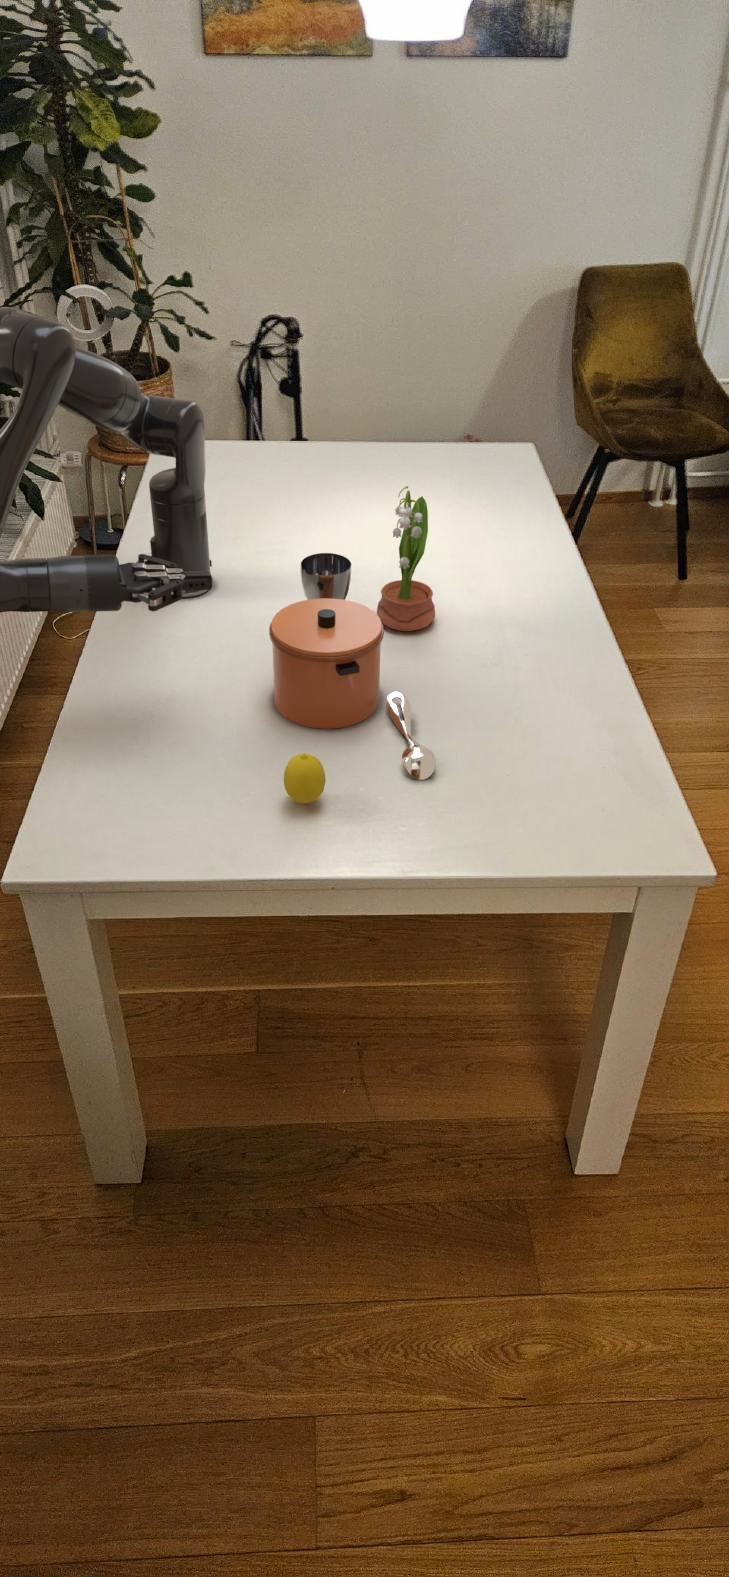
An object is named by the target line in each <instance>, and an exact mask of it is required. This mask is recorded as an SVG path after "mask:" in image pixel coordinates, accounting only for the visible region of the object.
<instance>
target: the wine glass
mask: <svg viewBox="0 0 729 1577" xmlns="http://www.w3.org/2000/svg"><path fill="white" fill-rule="evenodd" d="M300 580H301V585H302V590H303V594H304V596H305V598H306V600H310V599H320V598H332V599H342V600H347V596H348V594H349V591H350V588H351V587H350V586H351V580H352V562H351V560H350V559H349V558H348V557H346V556H343V555H341V554H337V553H331V552H319V553H314V554H310V555H308V556H306V557H304V558H303V559H302V560H301V562H300Z"/></svg>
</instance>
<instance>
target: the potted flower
mask: <svg viewBox="0 0 729 1577" xmlns="http://www.w3.org/2000/svg"><path fill="white" fill-rule="evenodd" d="M408 488H409V485H407V486H404V487H403V488H402V489H401V490H400V491H399V494H398V497H400V495H401V494H402V492H403V491H404V490H406V489H408ZM412 503H414V504H413V507H412ZM402 504H403V506H401V505H402ZM394 512H395V514H394V515H395V516H398V517H399V518H398V521H397V523H396V527H395V528H394V529H393V530H392V534H393V535H392V538H396V539H399V537H400V542H399V546H398V556H399V561H398V563H399V566H398V568H400V572H401V579H398V580H394V581H390V582H388V583H386V584H385V585H383V587H382V588H381V590H380V595H381V598H380V599H379V601H378V603H377V608H376V614H377V615H378V617H379V618H380V620H381V622H382V625H383V626H386V627H388V628H390V629H393V630H395V631H401V632H412V631H419V630H422V629H424V628H426V627H428V626H429V625H430V624H431V623H432V621H433V620H435V617H436V608H435V607H436V606H435V604H434V602H433V599H432V598H433V595H434V592H433V589H432V588H431V587H430V586H429V585H428V584H426V583H424V582H421V581H417V580H412V578H413V576H414V573H415V570H416V568H417V567H418V565H419V563H420V561H421V559H422V558H423V556H424V554H425V550H426V545H427V540H428V539H427V538H428V532H429V511H428V504H427V501H426V499H425V498H424V496H423V495H422V496H420V497H418V498H417V499H412V498H411V491H410V490H407V491H406V493H405V496H404V497H403V498H401V499H400V501H399V504H398V506H396V508H395V509H394ZM401 529H403V530H401ZM401 533H402V534H401Z"/></svg>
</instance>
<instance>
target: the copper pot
mask: <svg viewBox="0 0 729 1577" xmlns="http://www.w3.org/2000/svg"><path fill="white" fill-rule="evenodd" d="M268 633H269V640H270V641H271V643H272V668H273V669H272V670H273V671H272V672H273V694H274V696H273V698H274V706H275V708H276V710H277V711H278V712H279V714H280V715H282V716H283V717H284V718H285V719H287V720H289V721H291V722H292V723H294V724H296V725H299V726H304V727H306V728H312V729H323V730H325V729H327V730H329V729H330V730H332V729H340V728H346V727H350V726H353V725H357V724H359V723H361V722H364V721H365V720H367V719H368V718H370V717H371V716H372V715H373V714H374V713H375V712H376V710H377V708H378V706H379V701H380V674H381V648H382V647H381V645H382V644H381V643H382V642H383V639H384V636H385V635H384V634H385V629H384V624H383V623H382V622H381V620H380V618H379V617H378V615H377V612H375V611H374V610H372V609H371V608H370V607H368V606H366V605H364V604H361V603H358V602H355V601H351V600H347V599H345V600H342V599H332V598H320V599H310V600H307V599H305V600H300V601H296V602H293V603H291V604H289V605H287V606H284V607H283V608H281V609H280V610H279V611H277V612H276V614H275V615H274V616H273V618H272V620H271V622H270V624H269V628H268Z"/></svg>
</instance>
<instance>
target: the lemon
mask: <svg viewBox="0 0 729 1577" xmlns="http://www.w3.org/2000/svg"><path fill="white" fill-rule="evenodd" d="M283 785H284V789H285V791H286V794H287V795H288V797H289V798H290V799H291V800H293V802H296V803H298V804H303V805H306V804H311V803H314V802H315V801H317V800H318V799H319V798H320V797H321V796H322V794H323V793H324V790H325V787H326V773H325V769H324V766H323V764H322V762H321V760H320V759H319V758H318V757H316V756H315V755H314V754H310V753H299V754H296V755H294V756H292V757H291V758H290V760H289V761H287V764H286V766H285V769H284V773H283Z"/></svg>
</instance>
